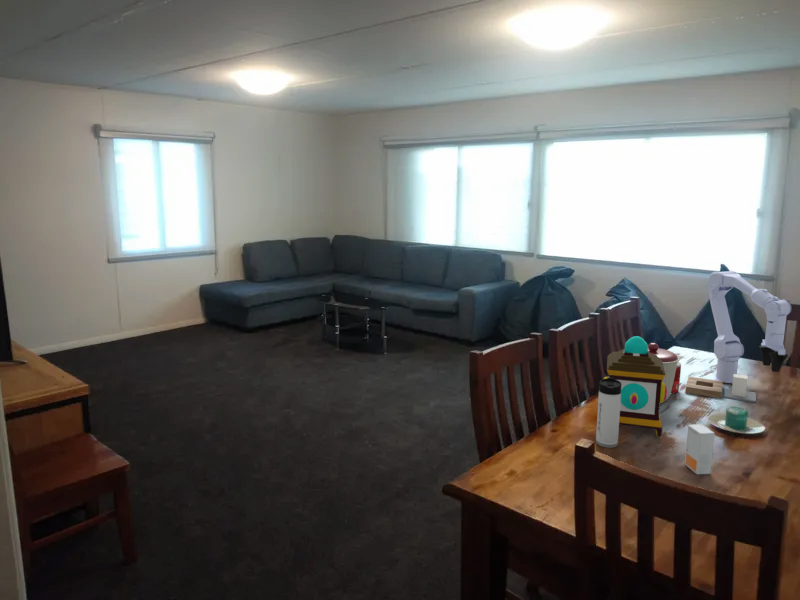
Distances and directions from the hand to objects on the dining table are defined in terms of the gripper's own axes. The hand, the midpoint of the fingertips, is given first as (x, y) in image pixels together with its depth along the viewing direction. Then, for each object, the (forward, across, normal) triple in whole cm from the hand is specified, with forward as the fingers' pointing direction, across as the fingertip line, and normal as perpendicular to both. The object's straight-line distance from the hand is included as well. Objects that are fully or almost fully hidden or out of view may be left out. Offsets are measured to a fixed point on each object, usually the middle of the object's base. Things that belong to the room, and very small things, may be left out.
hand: (770, 368), depth 214 cm
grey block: (+10, +2, -11) cm, 15 cm away
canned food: (+11, 0, -35) cm, 37 cm away
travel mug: (+11, +54, -66) cm, 86 cm away
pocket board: (+10, -2, -22) cm, 24 cm away
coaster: (+10, +3, -10) cm, 15 cm away
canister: (+11, +11, -44) cm, 47 cm away
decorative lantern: (+11, +38, -56) cm, 68 cm away
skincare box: (+11, +67, -44) cm, 81 cm away
